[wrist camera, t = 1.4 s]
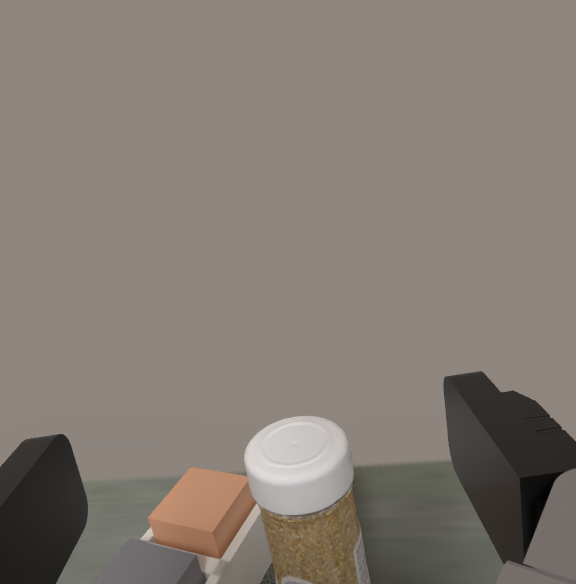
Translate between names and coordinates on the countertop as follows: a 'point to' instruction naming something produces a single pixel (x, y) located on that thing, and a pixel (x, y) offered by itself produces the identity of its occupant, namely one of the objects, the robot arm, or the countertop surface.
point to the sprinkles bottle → (307, 501)
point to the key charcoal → (151, 566)
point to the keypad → (235, 555)
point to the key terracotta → (203, 512)
